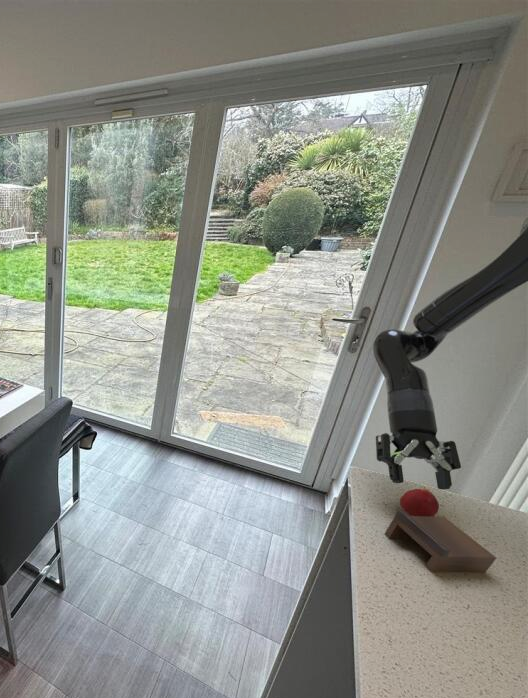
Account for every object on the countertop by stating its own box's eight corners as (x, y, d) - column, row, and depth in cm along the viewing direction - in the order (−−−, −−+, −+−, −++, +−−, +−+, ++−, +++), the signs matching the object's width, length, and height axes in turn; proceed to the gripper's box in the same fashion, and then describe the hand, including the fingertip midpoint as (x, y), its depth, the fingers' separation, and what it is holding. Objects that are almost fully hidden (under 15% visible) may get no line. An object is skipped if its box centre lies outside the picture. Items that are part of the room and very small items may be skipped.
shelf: (432, 534, 84) (448, 510, 81) (482, 577, 75) (502, 551, 72) (384, 533, 84) (398, 509, 81) (427, 575, 75) (445, 550, 72)
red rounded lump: (432, 520, 87) (451, 491, 84) (424, 531, 84) (443, 502, 81) (398, 504, 92) (415, 475, 88) (389, 514, 89) (406, 485, 85)
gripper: (386, 404, 89) (396, 479, 84) (462, 412, 87) (476, 489, 82) (363, 413, 96) (371, 482, 91) (433, 420, 94) (444, 492, 89)
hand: (421, 485), depth 87 cm, fingers open, 8 cm apart
